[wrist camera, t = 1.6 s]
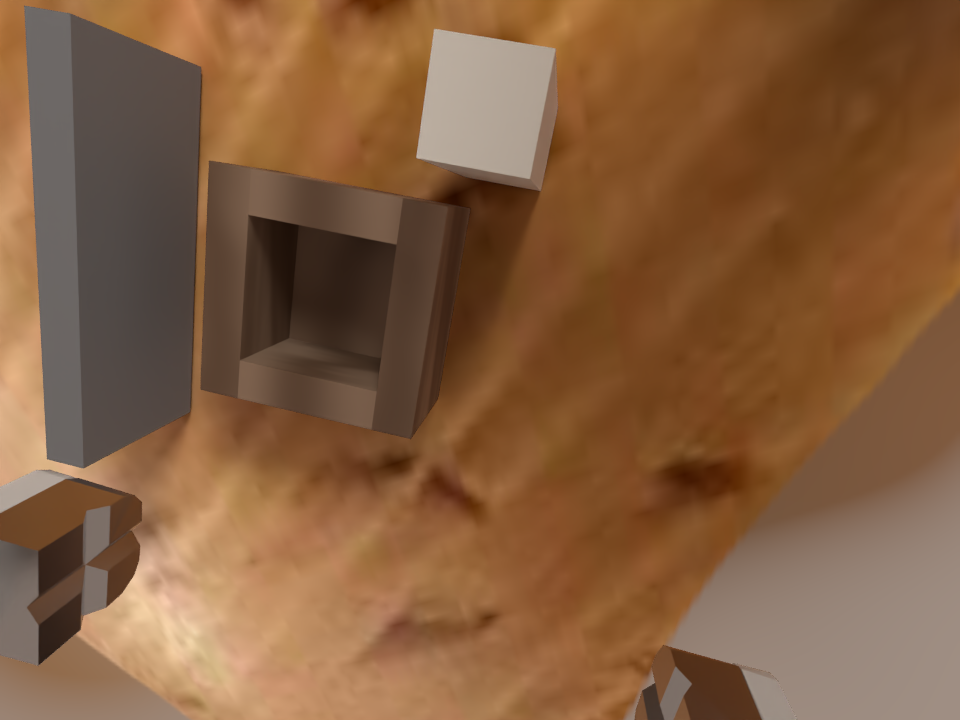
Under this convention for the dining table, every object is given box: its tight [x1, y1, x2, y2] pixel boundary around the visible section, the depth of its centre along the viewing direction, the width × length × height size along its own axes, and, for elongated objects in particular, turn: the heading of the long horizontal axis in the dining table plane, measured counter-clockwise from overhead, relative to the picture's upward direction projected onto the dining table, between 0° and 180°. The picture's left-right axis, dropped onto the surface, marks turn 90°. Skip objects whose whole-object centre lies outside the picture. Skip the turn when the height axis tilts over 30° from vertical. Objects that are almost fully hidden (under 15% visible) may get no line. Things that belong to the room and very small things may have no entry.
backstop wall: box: [24, 6, 201, 468], centre depth 28 cm, size 2×20×8 cm, turn 170°
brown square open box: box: [201, 161, 471, 439], centre depth 28 cm, size 11×11×6 cm
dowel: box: [416, 29, 558, 191], centre depth 23 cm, size 4×4×10 cm
